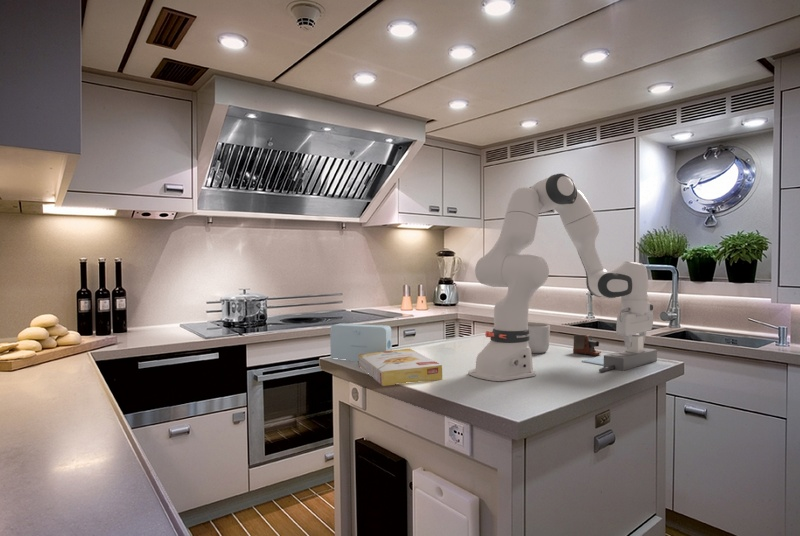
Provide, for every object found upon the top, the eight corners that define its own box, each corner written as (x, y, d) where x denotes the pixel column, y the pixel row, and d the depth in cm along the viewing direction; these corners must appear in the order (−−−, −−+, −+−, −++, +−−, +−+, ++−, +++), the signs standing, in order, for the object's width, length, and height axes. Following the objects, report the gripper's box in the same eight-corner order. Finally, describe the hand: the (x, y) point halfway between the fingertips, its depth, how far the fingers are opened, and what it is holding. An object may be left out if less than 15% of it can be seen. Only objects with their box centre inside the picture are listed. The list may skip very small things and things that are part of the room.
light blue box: (329, 360, 184) (329, 325, 184) (337, 357, 189) (336, 323, 189) (385, 364, 175) (385, 327, 175) (391, 361, 180) (391, 325, 180)
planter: (554, 354, 189) (554, 326, 189) (522, 354, 189) (522, 327, 189) (544, 348, 202) (544, 322, 201) (514, 349, 201) (514, 322, 201)
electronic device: (596, 356, 184) (596, 337, 184) (572, 353, 191) (572, 334, 191) (601, 355, 187) (601, 335, 187) (577, 352, 194) (577, 333, 194)
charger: (638, 357, 170) (638, 336, 170) (626, 355, 173) (626, 335, 173) (643, 355, 173) (643, 335, 173) (632, 354, 176) (632, 333, 176)
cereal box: (410, 347, 178) (443, 362, 152) (410, 362, 178) (444, 380, 152) (357, 353, 171) (382, 369, 145) (357, 368, 171) (383, 388, 145)
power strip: (610, 374, 156) (610, 361, 156) (590, 370, 161) (590, 358, 161) (656, 360, 176) (656, 349, 176) (637, 357, 181) (637, 346, 181)
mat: (602, 365, 169) (602, 364, 169) (581, 361, 175) (581, 360, 175) (614, 362, 174) (614, 361, 174) (593, 358, 180) (593, 357, 180)
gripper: (629, 310, 164) (629, 350, 164) (656, 305, 177) (656, 343, 177) (611, 308, 169) (611, 348, 169) (639, 304, 182) (639, 340, 182)
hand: (634, 345), depth 173 cm, fingers open, 8 cm apart
